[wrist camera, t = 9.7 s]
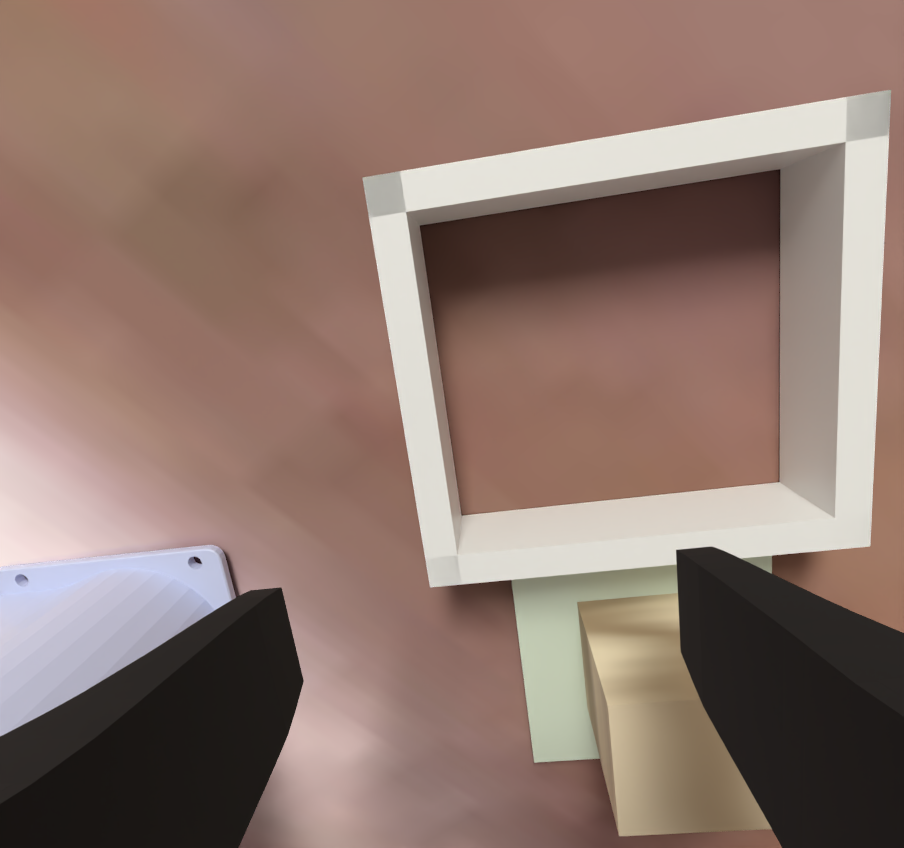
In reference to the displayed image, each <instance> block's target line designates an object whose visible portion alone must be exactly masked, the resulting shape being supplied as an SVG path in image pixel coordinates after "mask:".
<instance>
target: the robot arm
mask: <svg viewBox="0 0 904 848" xmlns="http://www.w3.org/2000/svg"><path fill="white" fill-rule="evenodd" d="M194 557H198V558H199V559H200V560H201V562H202V564H198V563H197V562H196V561H195V560H194ZM676 562H677V584H678V606H679V627H680V649H681V654H682V656H683V659H684V661H685V664H686V666H687V669H688V671H689V674H690V676H691V679H692V681H693V684H694V686H695V688H696V691H697V693H698V695H699V698H700V700H701V702H702V705H703V707H704V709H705V711H706V713H707V714H708V716H709V718H710V720H711V722H712V723H713V725H714V727H715V729H716V731H717V732H718V734H719V736H720V738H721V740H722V741H723V743H724V745H725V747H726V749H727V750H728V752H729V754H730V756H731V758H732V759H733V761H734V763H735V765H736V766H737V768H738V770H739V772H740V773H741V775H742V777H743V779H744V780H745V782H746V784H747V786H748V788H749V789H750V791H751V793H752V795H753V796H754V798H755V800H756V802H757V803H758V805H759V807H760V809H761V811H762V812H763V814H764V816H765V818H766V819H767V821H768V823H769V825H770V826H771V828H772V830H773V832H774V834H775V835H776V837H777V839H778V841H779V842H780V844H781V846H782V848H904V633H902V632H900V631H897V630H895V629H893V628H890V627H888V626H885V625H883V624H881V623H878V622H876V621H874V620H871V619H869V618H866V617H864V616H862V615H859V614H857V613H855V612H852V611H850V610H848V609H846V608H843V607H841V606H839V605H837V604H835V603H832V602H830V601H828V600H826V599H824V598H821V597H819V596H817V595H815V594H813V593H811V592H809V591H807V590H804V589H802V588H800V587H798V586H796V585H794V584H792V583H790V582H788V581H786V580H784V579H782V578H780V577H778V576H775V575H773V574H771V573H769V572H767V571H765V570H763V569H761V568H759V567H757V566H755V565H753V564H751V563H749V562H747V561H745V560H743V559H741V558H738V557H736V556H734V555H732V554H730V553H728V552H725V551H723V550H720V549H718V548H715V547H712V546H711V547H700V548H690V549H679V550H676ZM24 576H26V577H27V579H28V580H27V579H26V578H25V577H24ZM302 685H303V677H302V673H301V668H300V664H299V660H298V656H297V651H296V647H295V643H294V639H293V635H292V630H291V626H290V622H289V618H288V613H287V609H286V605H285V601H284V597H283V592H282V588H272V589H261V590H251V591H249V592H246V593H244V594H242V595H240V596H238V597H237V598H236V596H235V592H234V588H233V584H232V580H231V577H230V573H229V569H228V565H227V561H226V557H225V555H224V552H223V551H222V550H221V549H220V548H219V547H217V546H215V545H204V546H194V547H185V548H175V549H166V550H156V551H146V552H137V553H127V554H118V555H108V556H99V557H89V558H80V559H70V560H60V561H51V562H41V563H32V564H22V565H13V566H3V567H0V848H238V847H239V845H240V843H241V841H242V838H243V836H244V834H245V832H246V829H247V827H248V825H249V823H250V820H251V818H252V816H253V814H254V811H255V809H256V807H257V805H258V802H259V800H260V798H261V796H262V794H263V791H264V789H265V787H266V785H267V782H268V780H269V778H270V775H271V773H272V771H273V768H274V766H275V764H276V762H277V759H278V757H279V755H280V752H281V750H282V748H283V745H284V743H285V740H286V738H287V736H288V733H289V729H290V726H291V723H292V720H293V717H294V714H295V710H296V707H297V703H298V699H299V696H300V692H301V689H302Z"/></svg>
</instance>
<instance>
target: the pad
mask: <svg viewBox="0 0 904 848" xmlns="http://www.w3.org/2000/svg"><path fill="white" fill-rule="evenodd" d="M741 559H743V560H745V561H747V562H749V563H751V564H753V565H755V566H757V567H759V568H761V569H763V570H765V571H767V572H769V573H771V574H772V556H761V557H751V558H741ZM511 581H512V589H513V597H514V605H515V613H516V621H517V629H518V637H519V645H520V653H521V661H522V669H523V677H524V685H525V693H526V701H527V709H528V717H529V725H530V733H531V741H532V749H533V756H534V763H536V762H552V761H568V760H584V759H600V757H599V753H598V749H597V744H596V740H595V736H594V732H593V728H592V724H591V720H590V716H589V712H588V708H587V699H586V689H585V678H584V668H583V657H582V647H581V637H580V626H579V616H578V606H577V602H583V601H594V600H605V599H616V598H627V597H639V596H650V595H661V594H672V593H678V584H677V564H676V565H665V566H654V567H643V568H633V569H622V570H611V571H601V572H590V573H579V574H568V575H558V576H547V577H536V578H526V579H515V580H511Z"/></svg>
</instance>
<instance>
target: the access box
mask: <svg viewBox="0 0 904 848" xmlns="http://www.w3.org/2000/svg"><path fill="white" fill-rule="evenodd" d="M890 103H891V90H886V91H880V92H874V93H868V94H862V95H856V96H850V97H844V98H838V99H832V100H826V101H820V102H814V103H808V104H802V105H796V106H790V107H784V108H778V109H772V110H766V111H760V112H754V113H748V114H742V115H736V116H730V117H724V118H718V119H712V120H706V121H700V122H694V123H688V124H682V125H676V126H670V127H664V128H658V129H652V130H646V131H640V132H634V133H628V134H622V135H616V136H610V137H604V138H598V139H592V140H586V141H580V142H574V143H568V144H562V145H556V146H550V147H544V148H538V149H532V150H526V151H519V152H513V153H507V154H501V155H495V156H489V157H483V158H477V159H471V160H465V161H459V162H453V163H447V164H441V165H435V166H429V167H423V168H417V169H411V170H405V171H399V172H393V173H387V174H381V175H375V176H369V177H363V184H364V190H365V196H366V202H367V208H368V214H369V220H370V226H371V232H372V238H373V244H374V250H375V256H376V262H377V268H378V274H379V281H380V287H381V293H382V299H383V305H384V311H385V317H386V323H387V329H388V335H389V341H390V347H391V353H392V359H393V365H394V371H395V378H396V384H397V390H398V396H399V402H400V408H401V414H402V420H403V426H404V432H405V438H406V444H407V450H408V456H409V462H410V468H411V475H412V481H413V487H414V493H415V499H416V505H417V511H418V517H419V523H420V529H421V535H422V541H423V547H424V553H425V559H426V565H427V571H428V578H429V584H430V587H440V586H451V585H461V584H472V583H483V582H493V581H504V580H515V579H526V578H536V577H547V576H558V575H568V574H579V573H590V572H601V571H611V570H622V569H633V568H643V567H654V566H665V565H676V564H677V562H676V550H679V549H690V548H700V547H711V546H712V547H715V548H718V549H720V550H723V551H725V552H728V553H730V554H732V555H734V556H736V557H738V558H751V557H761V556H772V555H783V554H794V553H804V552H815V551H826V550H836V549H847V548H858V547H869V546H870V541H871V519H872V497H873V475H874V453H875V431H876V409H877V388H878V366H879V344H880V322H881V300H882V278H883V256H884V234H885V212H886V190H887V168H888V147H889V125H890ZM778 169H780V479H779V482H777V483H768V484H758V485H749V486H739V487H730V488H720V489H711V490H701V491H692V492H682V493H673V494H663V495H654V496H644V497H635V498H625V499H616V500H606V501H597V502H587V503H578V504H568V505H559V506H549V507H540V508H530V509H520V510H511V511H501V512H492V513H482V514H473V515H463V516H462V515H461V508H460V501H459V494H458V487H457V480H456V474H455V467H454V460H453V453H452V446H451V439H450V432H449V425H448V418H447V411H446V404H445V398H444V391H443V384H442V377H441V370H440V363H439V356H438V349H437V342H436V335H435V329H434V322H433V315H432V308H431V301H430V294H429V287H428V280H427V273H426V266H425V260H424V253H423V246H422V239H421V232H420V225H426V224H433V223H439V222H446V221H452V220H458V219H465V218H471V217H478V216H484V215H490V214H497V213H503V212H510V211H516V210H522V209H529V208H535V207H542V206H548V205H554V204H561V203H567V202H574V201H580V200H586V199H593V198H599V197H606V196H612V195H618V194H625V193H631V192H637V191H644V190H650V189H657V188H663V187H669V186H676V185H682V184H689V183H695V182H701V181H708V180H714V179H721V178H727V177H733V176H740V175H746V174H753V173H759V172H765V171H772V170H778Z"/></svg>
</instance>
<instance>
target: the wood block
mask: <svg viewBox="0 0 904 848" xmlns="http://www.w3.org/2000/svg"><path fill="white" fill-rule="evenodd" d="M577 606H578V616H579V626H580V637H581V647H582V657H583V668H584V678H585V689H586V699H587V708H588V712H589V716H590V720H591V724H592V728H593V732H594V736H595V740H596V744H597V749H598V753H599V757H600V761H601V765H602V769H603V773H604V777H605V781H606V785H607V789H608V793H609V797H610V802H611V806H612V810H613V814H614V818H615V822H616V826H617V830H618V834H619V836H639V835H659V834H679V833H700V832H720V831H740V830H760V829H772V828H771V826H770V825H769V823H768V821H767V819H766V818H765V816H764V814H763V812H762V811H761V809H760V807H759V805H758V803H757V802H756V800H755V798H754V796H753V795H752V793H751V791H750V789H749V788H748V786H747V784H746V782H745V780H744V779H743V777H742V775H741V773H740V772H739V770H738V768H737V766H736V765H735V763H734V761H733V759H732V758H731V756H730V754H729V752H728V750H727V749H726V747H725V745H724V743H723V741H722V740H721V738H720V736H719V734H718V732H717V731H716V729H715V727H714V725H713V723H712V722H711V720H710V718H709V716H708V714H707V713H706V711H705V709H704V707H703V705H702V702H701V700H700V698H699V695H698V693H697V691H696V688H695V686H694V684H693V681H692V679H691V676H690V674H689V671H688V669H687V666H686V664H685V661H684V659H683V656H682V654H681V649H680V627H679V606H678V593H672V594H661V595H650V596H639V597H627V598H616V599H605V600H594V601H583V602H577Z"/></svg>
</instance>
